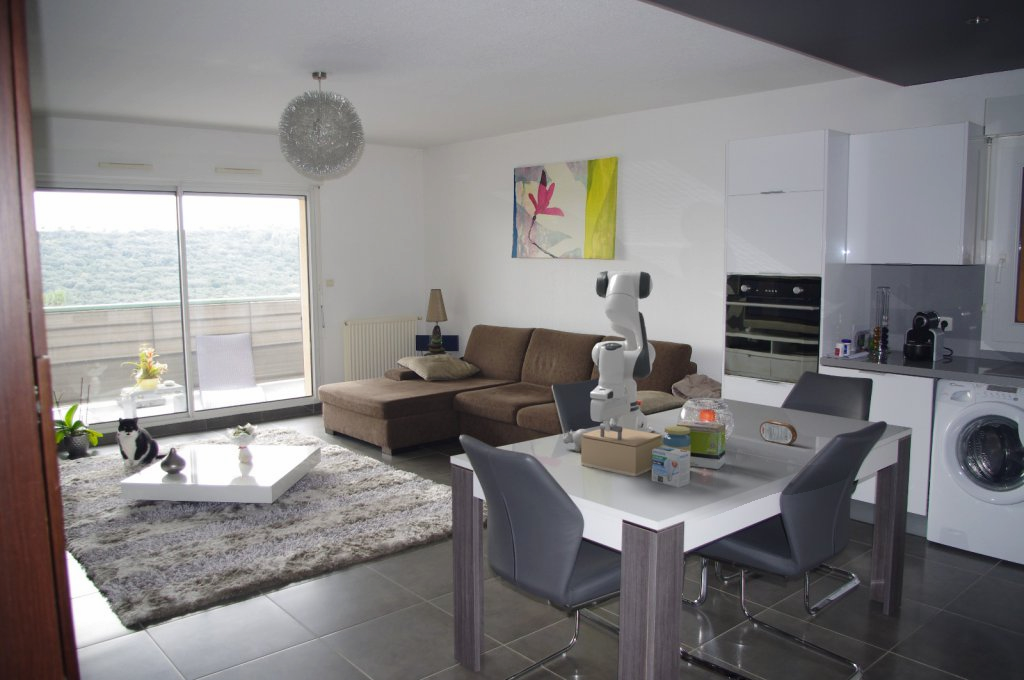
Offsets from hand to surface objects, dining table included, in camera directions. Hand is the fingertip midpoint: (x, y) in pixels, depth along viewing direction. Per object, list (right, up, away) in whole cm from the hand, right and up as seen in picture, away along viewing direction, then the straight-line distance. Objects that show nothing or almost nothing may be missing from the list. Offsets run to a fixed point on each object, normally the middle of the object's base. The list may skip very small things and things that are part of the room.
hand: (611, 430), depth 254 cm
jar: (+22, -14, -2) cm, 26 cm away
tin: (+71, -10, +37) cm, 80 cm away
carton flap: (+4, -3, +6) cm, 8 cm away
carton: (+4, -13, +7) cm, 15 cm away
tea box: (+33, -13, +8) cm, 36 cm away
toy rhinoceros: (-9, -11, +27) cm, 31 cm away
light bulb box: (+18, -16, -13) cm, 27 cm away
